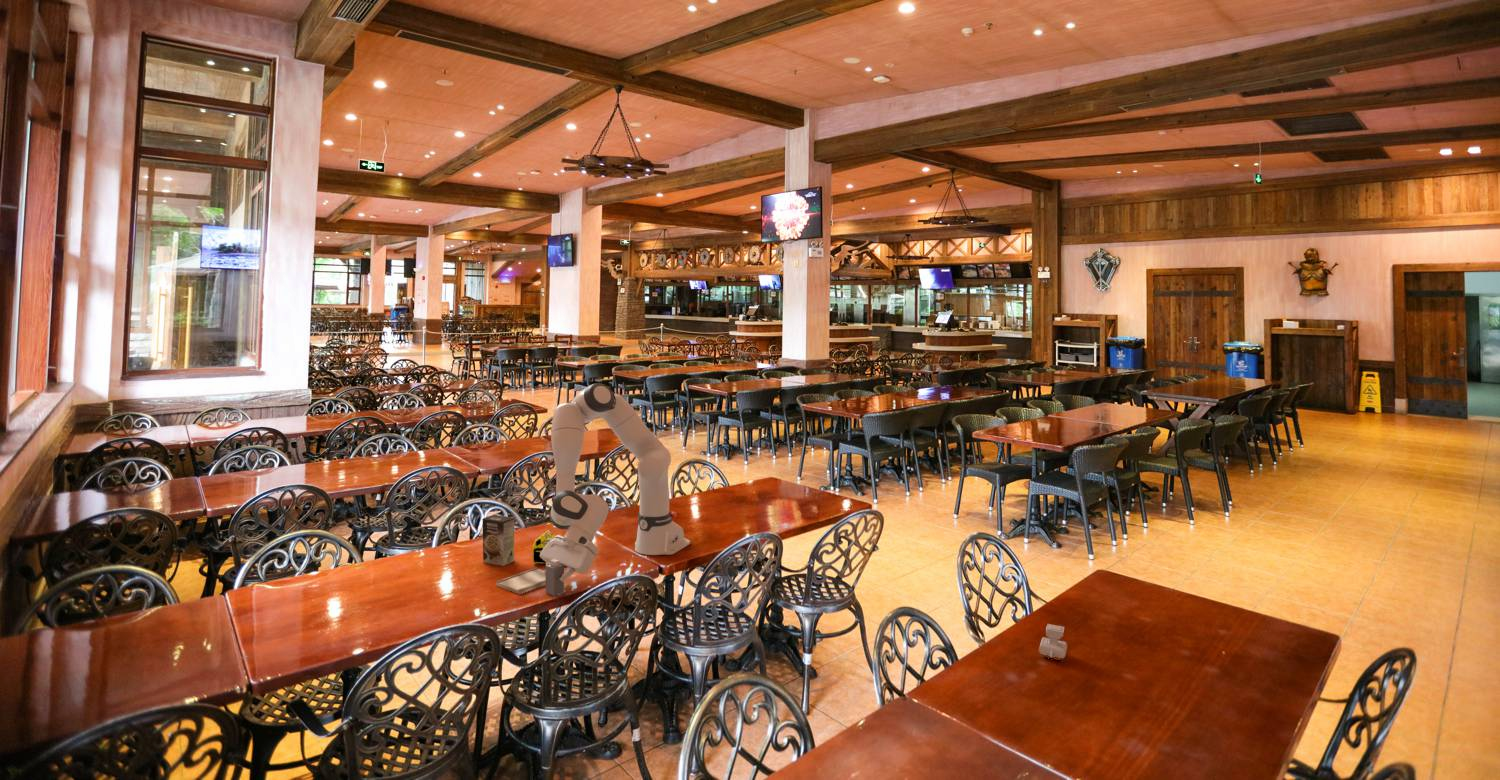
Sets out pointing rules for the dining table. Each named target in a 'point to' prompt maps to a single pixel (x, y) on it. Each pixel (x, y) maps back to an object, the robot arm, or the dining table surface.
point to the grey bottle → (554, 577)
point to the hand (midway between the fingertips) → (553, 578)
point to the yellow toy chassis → (541, 546)
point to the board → (523, 581)
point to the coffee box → (498, 540)
